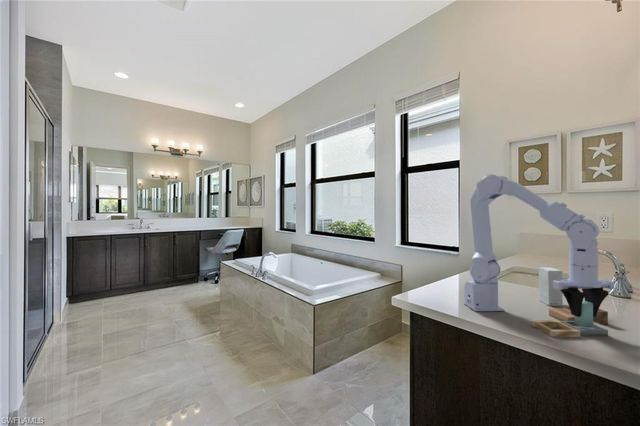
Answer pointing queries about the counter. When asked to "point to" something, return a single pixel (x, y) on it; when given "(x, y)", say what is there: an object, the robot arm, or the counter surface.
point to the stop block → (601, 317)
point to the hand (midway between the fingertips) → (583, 315)
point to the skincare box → (549, 286)
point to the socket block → (565, 332)
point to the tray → (588, 329)
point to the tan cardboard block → (561, 314)
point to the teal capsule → (585, 315)
